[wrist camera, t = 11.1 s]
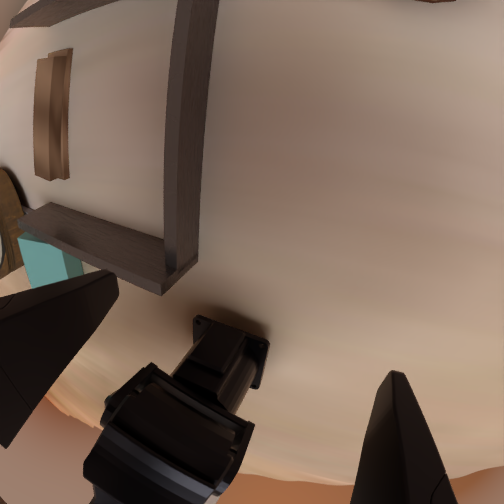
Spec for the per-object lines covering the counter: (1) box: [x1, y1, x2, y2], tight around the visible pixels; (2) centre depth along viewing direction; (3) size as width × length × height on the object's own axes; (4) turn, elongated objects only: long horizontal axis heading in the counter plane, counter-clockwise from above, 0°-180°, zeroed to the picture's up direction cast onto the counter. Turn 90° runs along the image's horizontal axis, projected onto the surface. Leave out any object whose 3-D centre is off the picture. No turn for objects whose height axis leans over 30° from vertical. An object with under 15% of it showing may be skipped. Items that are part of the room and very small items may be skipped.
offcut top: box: [33, 56, 67, 181], centre depth 22 cm, size 12×3×2 cm, turn 168°
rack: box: [10, 0, 219, 296], centre depth 19 cm, size 22×20×5 cm
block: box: [17, 232, 84, 289], centre depth 30 cm, size 10×3×7 cm
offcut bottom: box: [48, 49, 73, 180], centre depth 23 cm, size 13×4×2 cm, turn 171°
